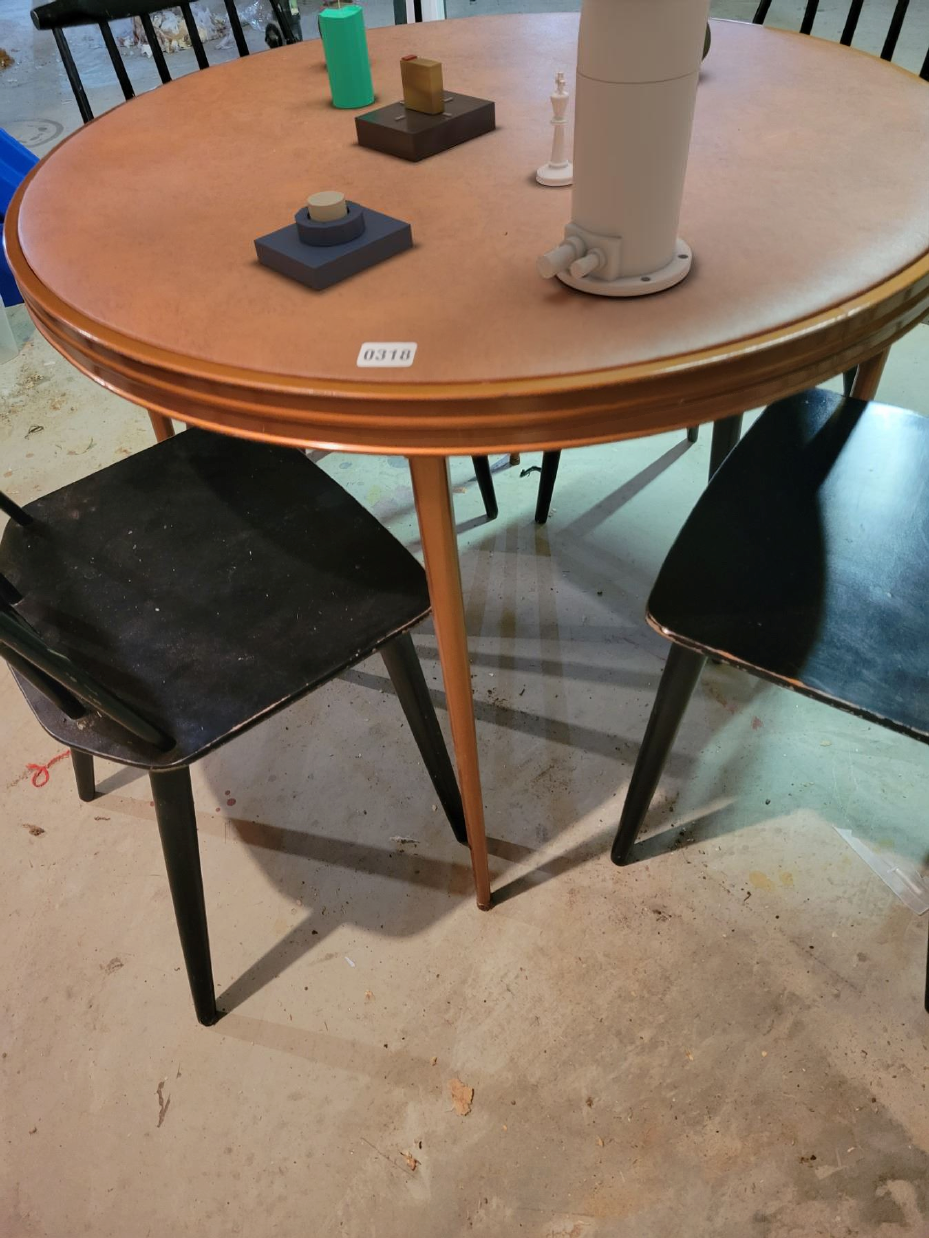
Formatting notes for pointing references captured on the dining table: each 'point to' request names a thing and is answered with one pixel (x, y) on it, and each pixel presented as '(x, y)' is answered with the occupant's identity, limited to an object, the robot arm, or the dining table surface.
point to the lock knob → (422, 84)
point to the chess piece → (557, 142)
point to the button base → (333, 245)
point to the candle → (347, 56)
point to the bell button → (327, 206)
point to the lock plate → (425, 126)
